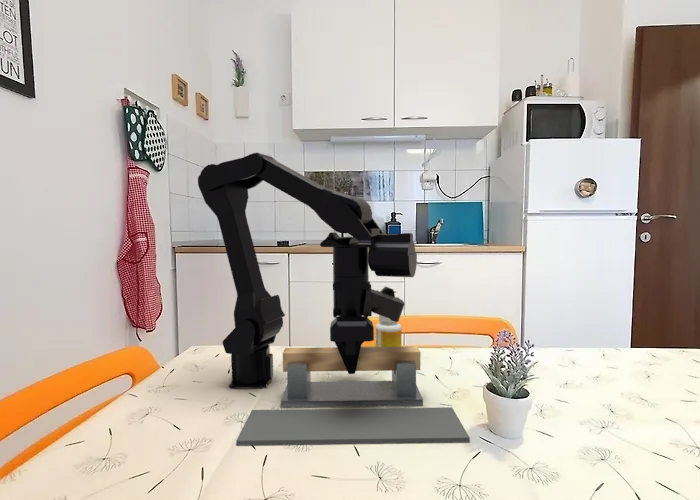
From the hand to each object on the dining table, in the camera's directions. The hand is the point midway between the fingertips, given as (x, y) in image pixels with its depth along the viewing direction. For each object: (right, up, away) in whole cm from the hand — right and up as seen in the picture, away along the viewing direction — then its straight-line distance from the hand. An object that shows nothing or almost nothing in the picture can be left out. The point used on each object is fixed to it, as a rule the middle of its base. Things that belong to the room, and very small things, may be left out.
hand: (351, 370), depth 69 cm
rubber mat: (0, -5, -10) cm, 11 cm away
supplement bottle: (+8, -3, +19) cm, 21 cm away
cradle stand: (0, -4, 0) cm, 4 cm away
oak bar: (0, 0, 0) cm, 0 cm away
